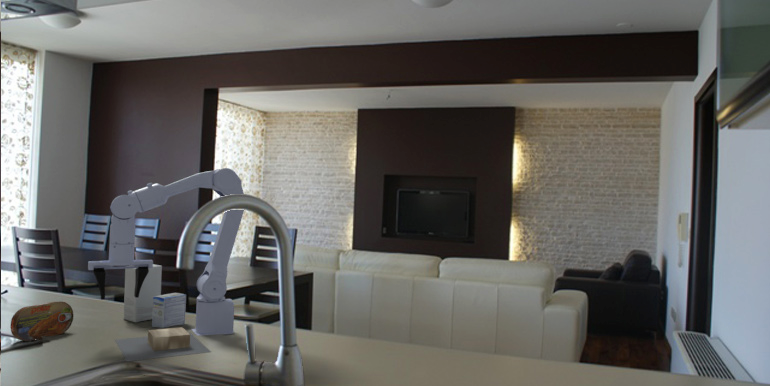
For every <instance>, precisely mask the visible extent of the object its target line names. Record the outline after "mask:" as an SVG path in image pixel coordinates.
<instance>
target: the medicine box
mask: <svg viewBox="0 0 770 386" xmlns="http://www.w3.org/2000/svg"><path fill="white" fill-rule="evenodd" d="M186 304H187V294H186V293H185V294H184V293H180V292H171V293H166V294H165V293H164V294H161V295H159V296H154V297H153V315H152V319H151V327H152V328H160V329H166V328H168V327H171V326H180V325H181V326H183V325H185V324H186V306H187V305H186Z"/></svg>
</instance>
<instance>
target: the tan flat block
mask: <svg viewBox="0 0 770 386" xmlns="http://www.w3.org/2000/svg"><path fill="white" fill-rule="evenodd" d="M189 333H190V332H188V331H187V330H186V329H185V328H184V327H171V328H168V327H167V328H158V329H148V330H147V337H148V344H149V345H150V347H151V348H152V349H153V351H158V350H167V349H177V348H186V347H190V334H189Z"/></svg>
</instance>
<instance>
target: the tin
mask: <svg viewBox="0 0 770 386" xmlns="http://www.w3.org/2000/svg"><path fill="white" fill-rule="evenodd" d="M73 320H74V310H73V308H72V306H71V305H70V304H69V303H67V302H66V301H51V302H45V303H40V304H34V305H28V306H24V307H21V308H20V309H18V310H17V311H16V312H15V313H14V314H13V316H12V318H11V320H10V333H11V335H12V336H13V337H14V338H16V339H17V340H20V341H25V342H31V341H30V340H35V339H39V340H42V339H43V337H52V336H54V337H55V336H59V335H62V334H64V333H65V332H67V331H68V330H69V329H70V328H71V326H72V324H73ZM35 341H36V340H35Z"/></svg>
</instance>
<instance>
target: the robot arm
mask: <svg viewBox="0 0 770 386" xmlns="http://www.w3.org/2000/svg"><path fill="white" fill-rule="evenodd" d="M242 182H243V181H242V179H241V177H239V175H238V174H237V173H236V171H234V170H233V169H232V168H228V167H224V168H216V169H214V170H209V171H204V172H199V173H198V172H197V173H195V174H193V175H190V176H188V177H187V176H186V177H184V178H182V179H179V180H177V181H174V182H172V183H169V184H167V185H166V184H165V185H162V184H160V183H157V182H156V183H153V182H149V183H147V184H146V186H145V187H142V188H139V189H136V190H134V191H133V190H132V189H131V190H128V191H127V194H121V195H118V196H116V197H115V198H114V199H112V202H111V204H110V206H109V208H110V211H111V213H112V215H111V218H110V222H111V223H110V227H109V245H108V246H109V247H108V249H109V251H108V259H107V260H91V261H88V262H87V263H88V264H87V270H88V271H92V273H93V275H94V277H95V279H96V282H97V285H98V288H99V295H100V300H106V287H105V286H106V276H107V273H106V270H122V269H124V270H125V269H128V268H136V269H135V278H136V279H135V292H134V296H135V297H136V298H138V297H139V293H140V289H141V286H142V284H143V282H144V280H145V278H146V276H147V274H148V272H149V269H148V268H153V264H154V260H153V259H135V246H136V245H135V244H136V224H135V223H136V221H135V219H136V214H137V213H144V212H147V211H149V210H150V211H151V210H152V209H155V208H159V207H161V206H164V205H166V203H167V201H168V200H169V198H170V197H173V196H176V195H180V194H182V193H186V192H189V191H191V190H195V189H198V188H200V189H201V188H203V189H211V190H213V191H214V192H215V193H216V194H217V195H218V196H219V197H220V198H221V196H225V195H230V194H244V195H245V193H244V190H243V185H242V184H243V183H242ZM244 213H245V209H244V210H230V211H227V212H225V213H224V212H223V215H222V218H221V222H220V224H219V227H218V230H217V234H216V237H215V240H214V244H213V246H212V251H211V254H210V256H209V260H208V262H207V264H206V266H205V268H204V271H203V273H202V274H201V275H200V276H198V279H197V281H196V288H197V291H198V292H199V295H198V296H197V297H196V305H195V306H196V307H195V308H196V311H195V328H191V329H190V330H191V331H192V332H193V333H194V334H195V335H196V336H198V337H201V336H202V337H203V336H211V335H213V336H214V335H222V336H224V335H225V336H226V335H233V334H234V333H235V332H234V327H235V326H234V324H235V323H234V322H235V321H234V320H235V319H234V318H235V305H234V304H235V303H234V301H233V299H232V298H226V296H225V294H226V293H227V290H228V287H227V282H226V281H227V277H228V265H229V262H230V260H231V259H230V258H231V255H232V252H233V249H234V245H235V243H236V238H237V235H238V232H239V230H240V229H239V228H240V225H241V222H242V220H243V219H242V218H243V216H244Z"/></svg>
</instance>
